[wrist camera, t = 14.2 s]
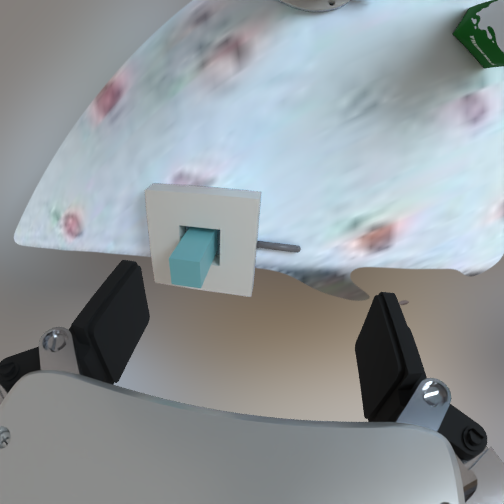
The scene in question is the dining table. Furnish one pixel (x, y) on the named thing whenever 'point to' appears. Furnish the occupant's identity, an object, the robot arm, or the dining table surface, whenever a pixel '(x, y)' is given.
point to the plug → (193, 257)
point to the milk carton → (484, 33)
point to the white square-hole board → (213, 217)
